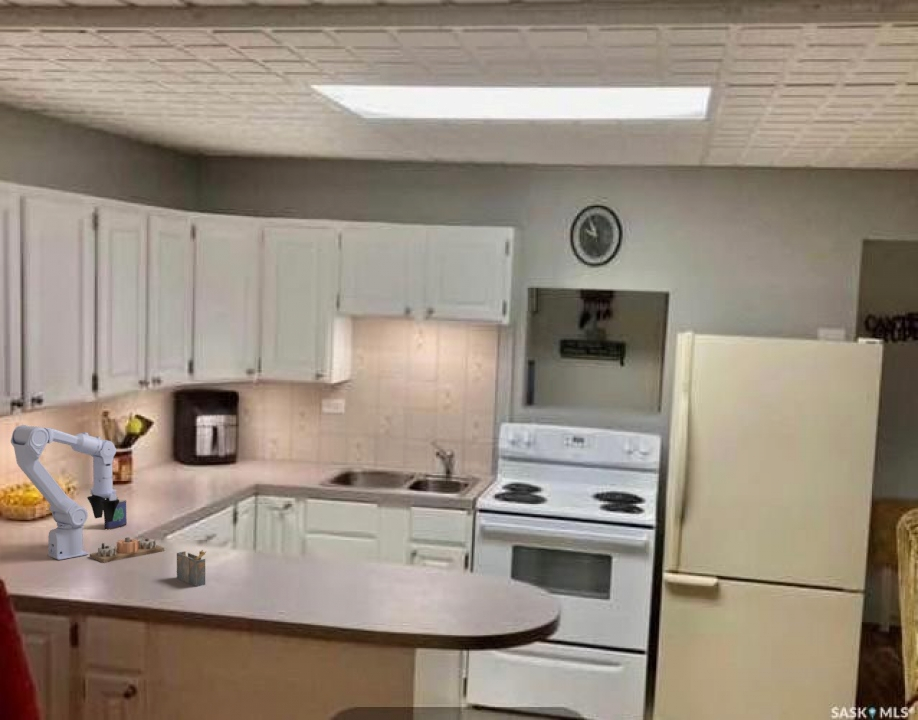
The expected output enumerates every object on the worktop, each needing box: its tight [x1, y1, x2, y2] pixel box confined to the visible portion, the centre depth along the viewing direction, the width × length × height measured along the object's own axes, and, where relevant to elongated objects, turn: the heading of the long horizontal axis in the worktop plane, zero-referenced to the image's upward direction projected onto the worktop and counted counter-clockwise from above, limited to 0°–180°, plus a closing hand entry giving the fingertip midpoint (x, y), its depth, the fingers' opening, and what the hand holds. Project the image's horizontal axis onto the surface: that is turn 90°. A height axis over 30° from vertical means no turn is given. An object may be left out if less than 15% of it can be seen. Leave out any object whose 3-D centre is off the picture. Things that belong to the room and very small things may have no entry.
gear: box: [116, 538, 139, 553], centre depth 294 cm, size 6×6×3 cm
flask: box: [103, 496, 128, 531], centre depth 330 cm, size 9×3×11 cm, turn 152°
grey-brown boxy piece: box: [176, 549, 207, 587], centre depth 266 cm, size 11×3×10 cm, turn 44°
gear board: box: [89, 537, 165, 563], centre depth 294 cm, size 20×9×5 cm, turn 137°
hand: (103, 519), depth 302 cm, fingers open, 7 cm apart
